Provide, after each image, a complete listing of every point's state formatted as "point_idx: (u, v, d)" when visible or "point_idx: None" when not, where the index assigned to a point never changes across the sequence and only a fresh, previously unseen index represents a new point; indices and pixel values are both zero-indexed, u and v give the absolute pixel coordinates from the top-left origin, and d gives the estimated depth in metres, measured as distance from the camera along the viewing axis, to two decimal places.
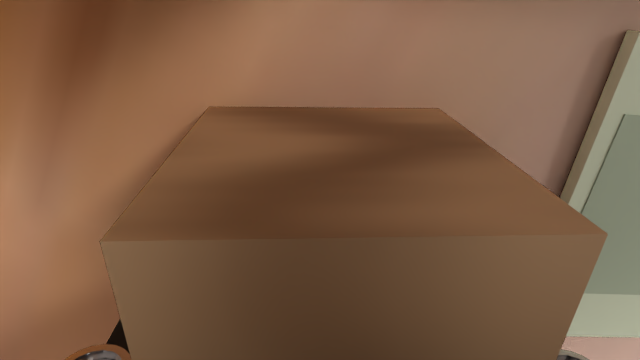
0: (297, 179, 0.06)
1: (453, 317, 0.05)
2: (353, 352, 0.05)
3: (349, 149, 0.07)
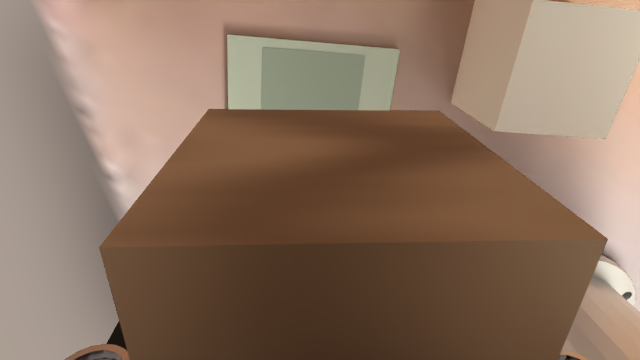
0: (296, 183, 0.06)
1: (453, 322, 0.05)
2: (353, 356, 0.05)
3: (349, 152, 0.07)
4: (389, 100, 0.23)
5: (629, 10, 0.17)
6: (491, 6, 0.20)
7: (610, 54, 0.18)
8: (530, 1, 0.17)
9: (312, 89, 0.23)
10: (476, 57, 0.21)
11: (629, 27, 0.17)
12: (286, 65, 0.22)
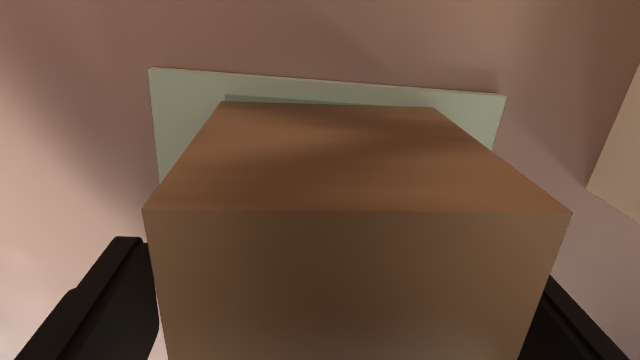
0: (305, 164, 0.07)
1: (440, 284, 0.06)
2: (354, 314, 0.06)
3: (352, 140, 0.08)
4: None
5: None
6: None
7: None
8: None
9: None
10: None
11: None
12: None
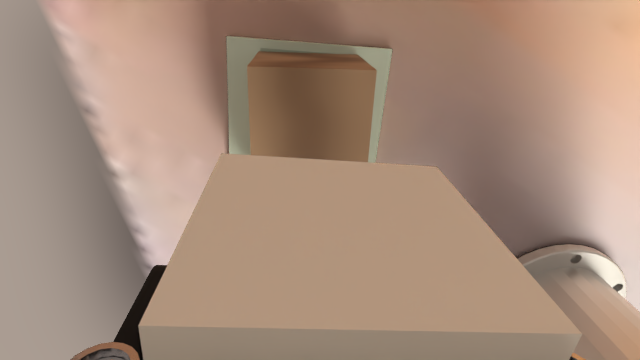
0: (295, 62, 0.19)
1: (338, 97, 0.18)
2: (311, 108, 0.18)
3: (314, 59, 0.20)
4: (383, 98, 0.24)
5: (482, 335, 0.05)
6: None
7: None
8: (144, 320, 0.05)
9: None
10: None
11: None
12: None
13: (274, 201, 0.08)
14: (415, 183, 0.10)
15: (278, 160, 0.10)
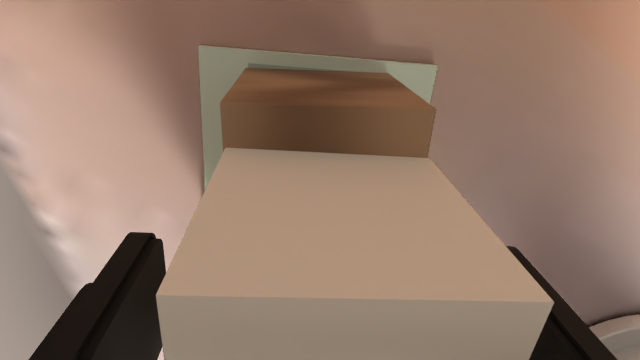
0: (300, 92, 0.12)
1: (371, 151, 0.11)
2: None
3: (329, 84, 0.13)
4: None
5: (463, 303, 0.06)
6: None
7: None
8: (160, 291, 0.06)
9: None
10: None
11: (472, 335, 0.06)
12: None
13: (275, 190, 0.09)
14: (408, 173, 0.10)
15: (279, 153, 0.11)
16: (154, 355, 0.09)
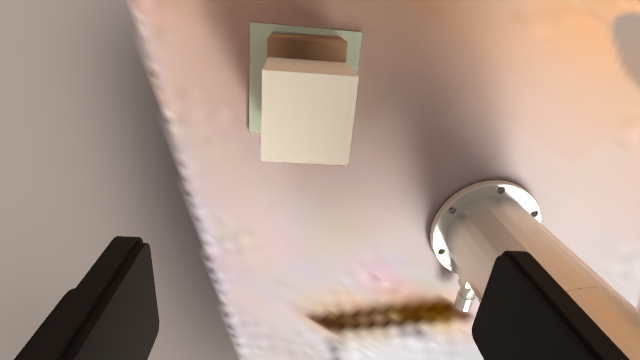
0: (296, 38, 0.30)
1: (323, 59, 0.29)
2: None
3: (309, 37, 0.31)
4: (357, 67, 0.35)
5: (335, 76, 0.23)
6: None
7: (331, 105, 0.24)
8: (262, 71, 0.23)
9: None
10: None
11: (339, 87, 0.24)
12: None
13: (287, 63, 0.26)
14: (335, 64, 0.28)
15: (288, 58, 0.28)
16: None
